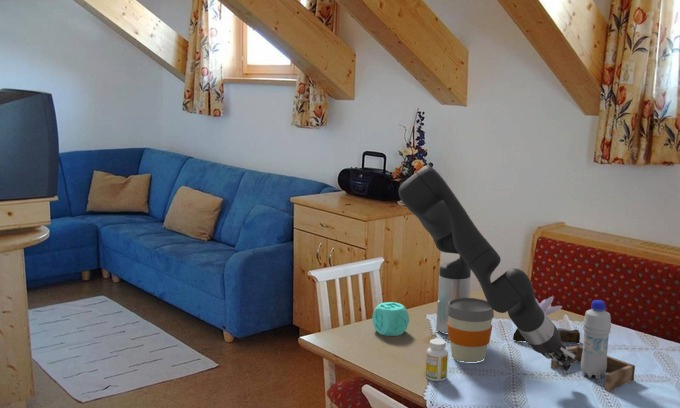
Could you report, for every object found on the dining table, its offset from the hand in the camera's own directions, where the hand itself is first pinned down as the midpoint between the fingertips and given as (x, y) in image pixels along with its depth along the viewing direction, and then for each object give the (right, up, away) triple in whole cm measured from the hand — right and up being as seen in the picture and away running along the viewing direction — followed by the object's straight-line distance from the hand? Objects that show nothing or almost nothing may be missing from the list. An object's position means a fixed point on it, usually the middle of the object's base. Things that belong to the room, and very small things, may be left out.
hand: (566, 367), depth 174 cm
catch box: (+9, -3, +7) cm, 12 cm away
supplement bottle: (-32, -4, +4) cm, 32 cm away
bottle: (+9, -4, +6) cm, 12 cm away
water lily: (+5, +3, +44) cm, 44 cm away
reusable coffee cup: (-21, -1, +17) cm, 27 cm away
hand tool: (+4, 0, +29) cm, 29 cm away
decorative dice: (-41, +2, +36) cm, 55 cm away
